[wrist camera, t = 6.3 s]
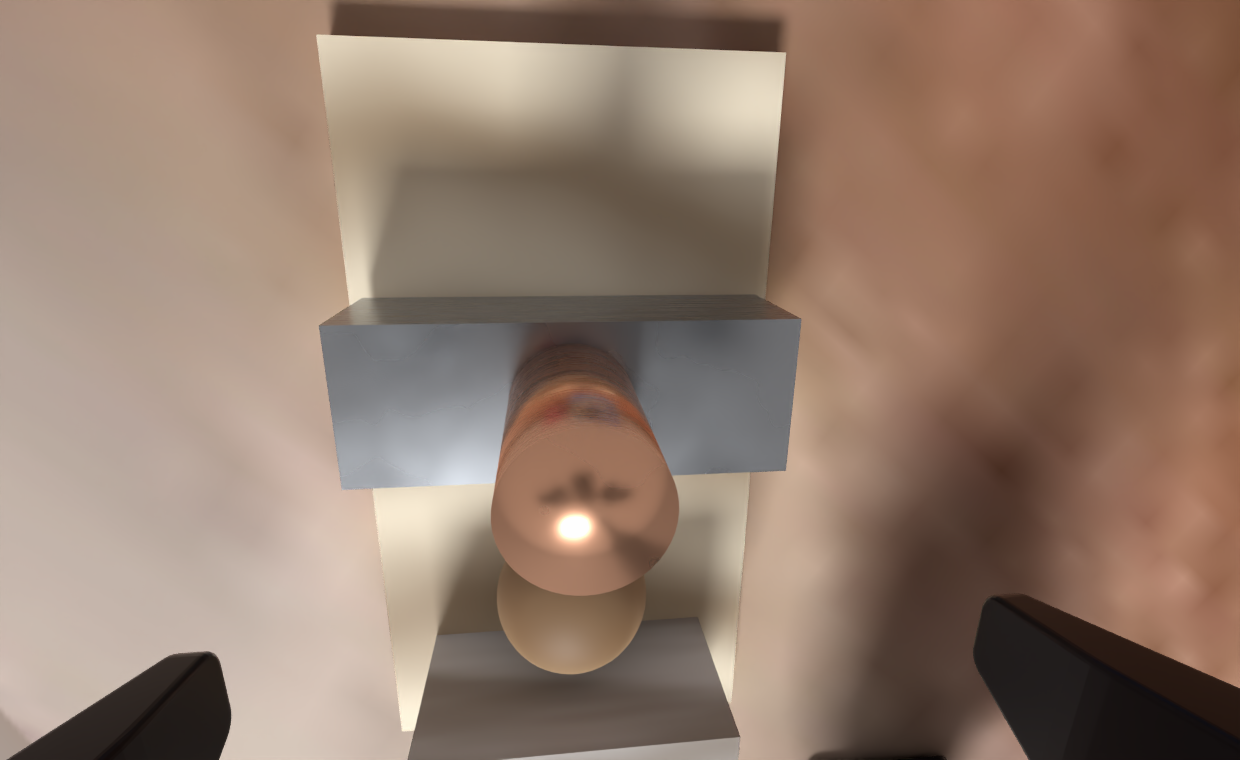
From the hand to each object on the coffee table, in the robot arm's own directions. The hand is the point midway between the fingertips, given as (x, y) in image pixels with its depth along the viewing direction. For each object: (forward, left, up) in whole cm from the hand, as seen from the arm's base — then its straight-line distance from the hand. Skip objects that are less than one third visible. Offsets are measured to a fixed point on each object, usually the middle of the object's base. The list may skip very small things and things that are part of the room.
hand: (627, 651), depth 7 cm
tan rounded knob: (-6, 0, -12) cm, 14 cm away
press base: (-2, 0, -13) cm, 13 cm away
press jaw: (0, 0, -11) cm, 11 cm away
